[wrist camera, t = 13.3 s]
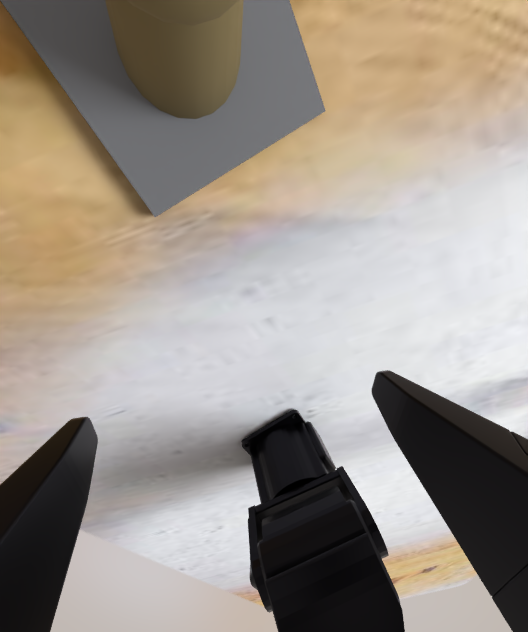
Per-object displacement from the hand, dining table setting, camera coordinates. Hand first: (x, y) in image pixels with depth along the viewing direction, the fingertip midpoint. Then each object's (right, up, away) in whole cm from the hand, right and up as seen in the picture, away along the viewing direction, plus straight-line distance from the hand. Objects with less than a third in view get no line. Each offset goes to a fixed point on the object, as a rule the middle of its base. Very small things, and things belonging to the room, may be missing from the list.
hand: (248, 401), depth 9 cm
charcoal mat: (-4, +17, +6) cm, 18 cm away
